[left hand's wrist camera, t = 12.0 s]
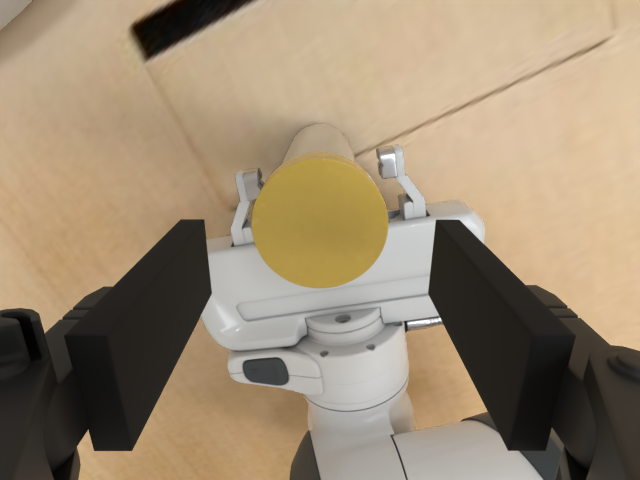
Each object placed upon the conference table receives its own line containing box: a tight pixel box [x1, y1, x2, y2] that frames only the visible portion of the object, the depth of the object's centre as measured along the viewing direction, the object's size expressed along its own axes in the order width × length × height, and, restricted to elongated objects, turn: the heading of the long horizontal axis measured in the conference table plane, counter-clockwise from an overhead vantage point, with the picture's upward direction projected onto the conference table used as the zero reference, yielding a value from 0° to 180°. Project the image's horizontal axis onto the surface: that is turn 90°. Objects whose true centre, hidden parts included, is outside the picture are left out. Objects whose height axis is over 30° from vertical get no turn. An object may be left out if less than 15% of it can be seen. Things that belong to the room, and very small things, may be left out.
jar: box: [281, 123, 358, 165], centre depth 25 cm, size 5×5×17 cm
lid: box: [251, 152, 389, 288], centre depth 17 cm, size 6×6×2 cm
